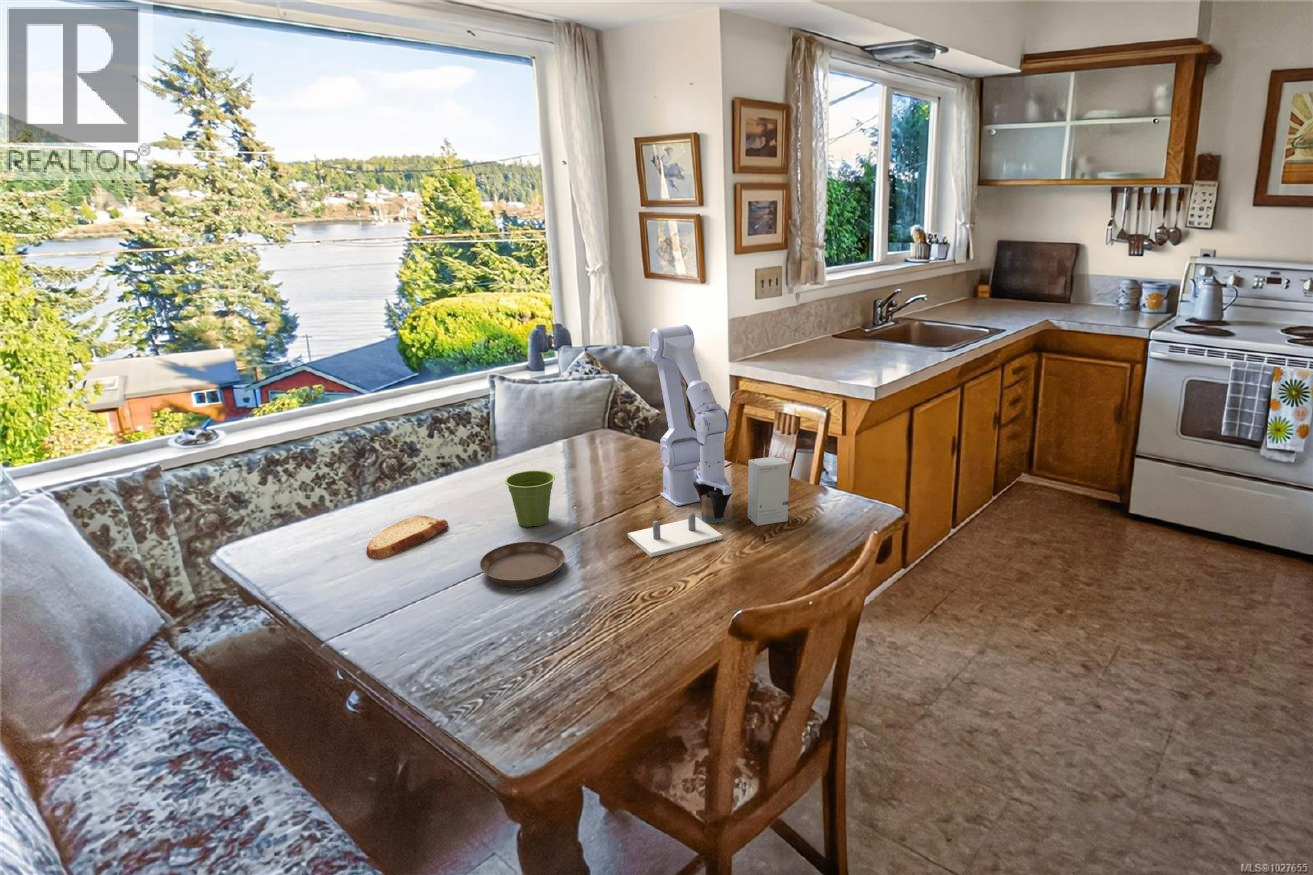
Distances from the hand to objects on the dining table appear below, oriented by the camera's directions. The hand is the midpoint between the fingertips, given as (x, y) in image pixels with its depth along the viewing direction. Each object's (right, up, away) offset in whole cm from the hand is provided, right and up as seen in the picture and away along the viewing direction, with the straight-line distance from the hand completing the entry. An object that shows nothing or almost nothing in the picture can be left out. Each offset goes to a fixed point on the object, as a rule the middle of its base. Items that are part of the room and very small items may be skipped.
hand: (713, 513), depth 186 cm
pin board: (-9, -5, -9) cm, 14 cm away
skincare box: (+13, -2, -1) cm, 13 cm away
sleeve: (0, -1, 0) cm, 1 cm away
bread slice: (-71, -6, -4) cm, 72 cm away
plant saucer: (-42, -10, -22) cm, 48 cm away
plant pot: (-43, -2, +3) cm, 43 cm away
